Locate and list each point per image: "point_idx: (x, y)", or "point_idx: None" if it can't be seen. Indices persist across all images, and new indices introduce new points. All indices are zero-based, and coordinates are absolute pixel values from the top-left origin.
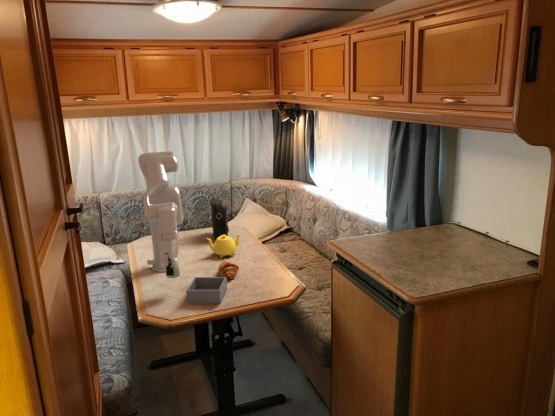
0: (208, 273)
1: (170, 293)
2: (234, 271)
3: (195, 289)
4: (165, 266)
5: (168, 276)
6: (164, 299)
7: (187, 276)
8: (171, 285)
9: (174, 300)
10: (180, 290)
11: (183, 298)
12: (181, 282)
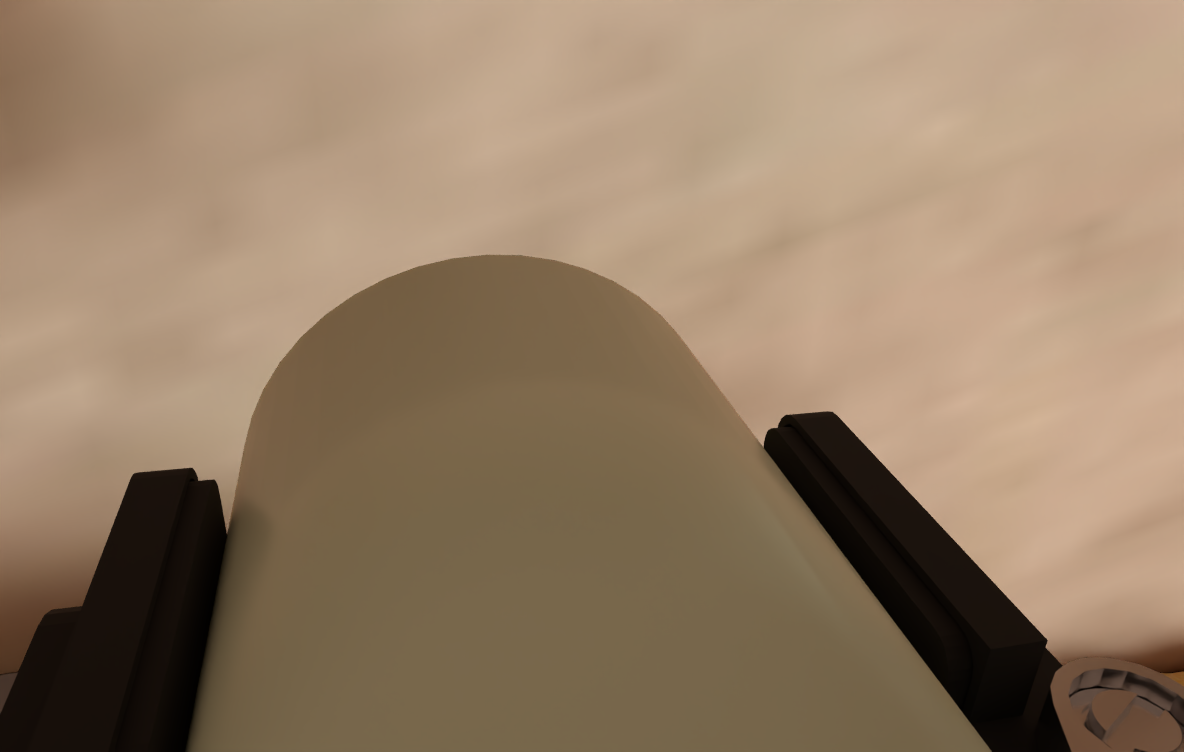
0: (1163, 541)
1: (369, 189)
2: None
3: None
4: (307, 622)
5: (246, 451)
6: (7, 159)
7: (1154, 253)
8: (794, 64)
9: (14, 405)
10: None
11: None
12: (910, 233)
